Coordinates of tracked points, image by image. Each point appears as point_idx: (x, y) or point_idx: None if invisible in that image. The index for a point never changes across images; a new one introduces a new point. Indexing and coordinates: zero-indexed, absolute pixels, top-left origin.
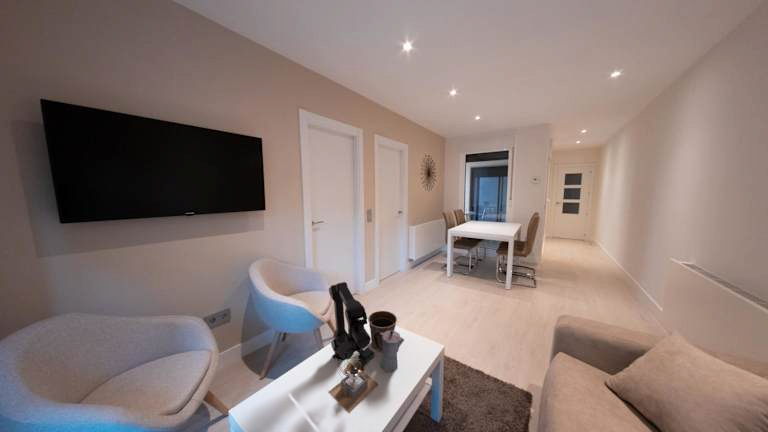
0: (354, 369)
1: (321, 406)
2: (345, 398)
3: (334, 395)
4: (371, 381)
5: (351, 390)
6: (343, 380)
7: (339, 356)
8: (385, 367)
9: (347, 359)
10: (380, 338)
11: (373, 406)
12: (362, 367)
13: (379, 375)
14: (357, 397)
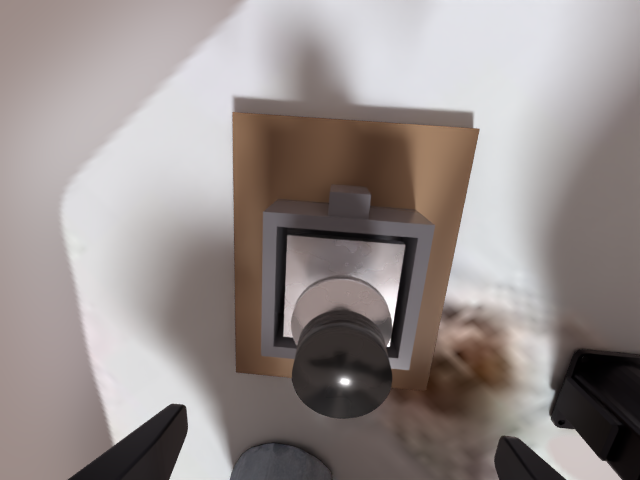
0: (325, 367)
1: (442, 20)
2: (332, 175)
3: (416, 139)
4: (285, 361)
5: (288, 214)
6: (417, 242)
7: (619, 389)
8: (263, 477)
9: (502, 440)
10: None
11: (170, 251)
12: (92, 473)
13: (285, 413)
14: None
